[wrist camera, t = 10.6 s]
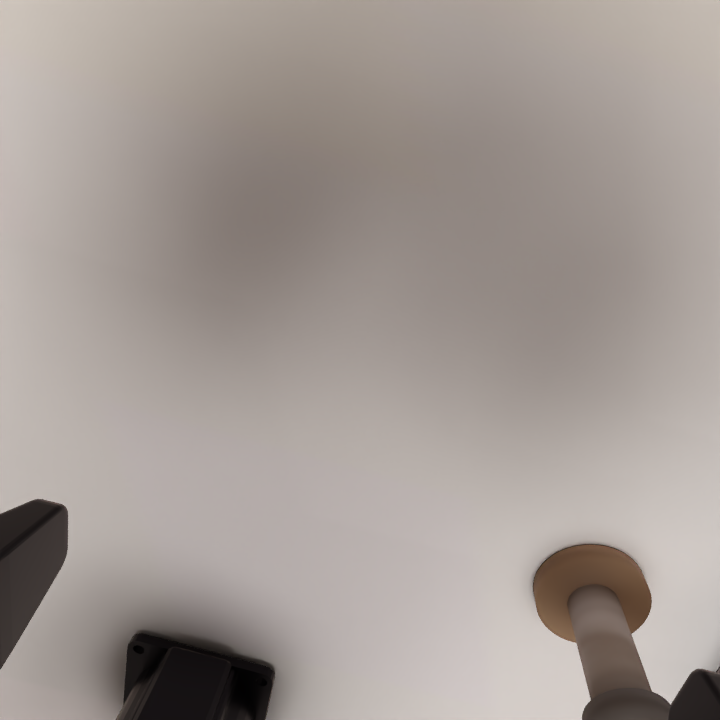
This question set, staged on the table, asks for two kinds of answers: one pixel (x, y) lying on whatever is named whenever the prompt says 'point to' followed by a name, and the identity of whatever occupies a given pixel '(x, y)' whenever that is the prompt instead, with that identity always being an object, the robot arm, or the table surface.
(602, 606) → the peg stand
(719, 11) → the table surface
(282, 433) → the table surface
